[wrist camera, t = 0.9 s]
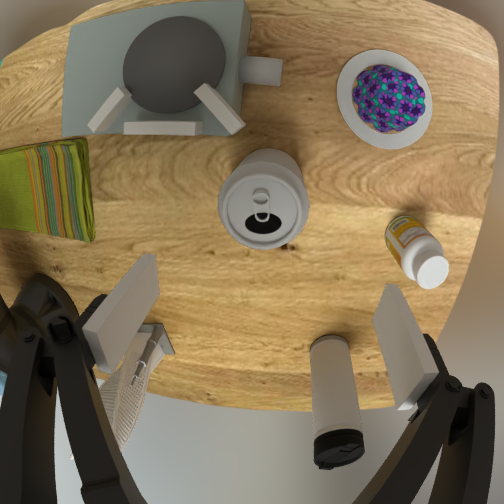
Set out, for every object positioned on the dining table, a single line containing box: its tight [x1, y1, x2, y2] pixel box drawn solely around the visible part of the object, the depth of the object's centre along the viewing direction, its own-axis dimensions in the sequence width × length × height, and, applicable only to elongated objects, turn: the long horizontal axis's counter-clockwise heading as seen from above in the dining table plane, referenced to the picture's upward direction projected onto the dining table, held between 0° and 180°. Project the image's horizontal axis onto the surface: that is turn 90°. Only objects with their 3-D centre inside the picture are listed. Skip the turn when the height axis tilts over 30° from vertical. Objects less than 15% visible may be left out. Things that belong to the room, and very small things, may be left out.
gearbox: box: [62, 0, 283, 137], centre depth 23 cm, size 24×14×8 cm, turn 84°
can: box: [218, 148, 310, 250], centre depth 27 cm, size 8×8×12 cm
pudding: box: [337, 49, 432, 149], centre depth 24 cm, size 12×12×5 cm
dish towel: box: [0, 138, 95, 243], centre depth 35 cm, size 15×36×3 cm, turn 86°
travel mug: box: [310, 335, 365, 470], centre depth 34 cm, size 6×7×20 cm
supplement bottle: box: [385, 216, 449, 289], centre depth 29 cm, size 5×5×10 cm
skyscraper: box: [70, 323, 175, 460], centre depth 34 cm, size 8×8×28 cm
